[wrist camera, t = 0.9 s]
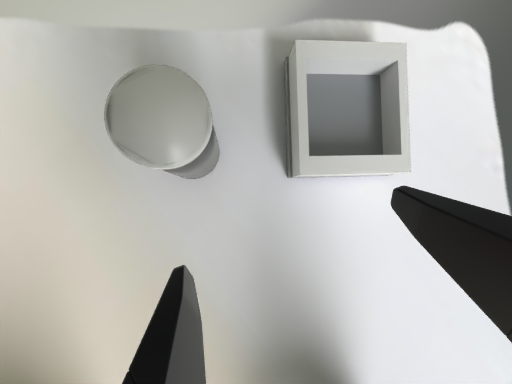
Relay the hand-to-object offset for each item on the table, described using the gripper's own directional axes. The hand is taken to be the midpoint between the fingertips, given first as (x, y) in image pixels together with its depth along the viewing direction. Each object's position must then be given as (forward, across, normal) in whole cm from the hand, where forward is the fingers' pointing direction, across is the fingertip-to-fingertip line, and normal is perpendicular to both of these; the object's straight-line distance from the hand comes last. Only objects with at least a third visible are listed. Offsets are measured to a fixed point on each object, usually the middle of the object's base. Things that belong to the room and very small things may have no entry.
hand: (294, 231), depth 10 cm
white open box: (+14, -10, +3) cm, 17 cm away
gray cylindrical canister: (+15, +4, +2) cm, 15 cm away
